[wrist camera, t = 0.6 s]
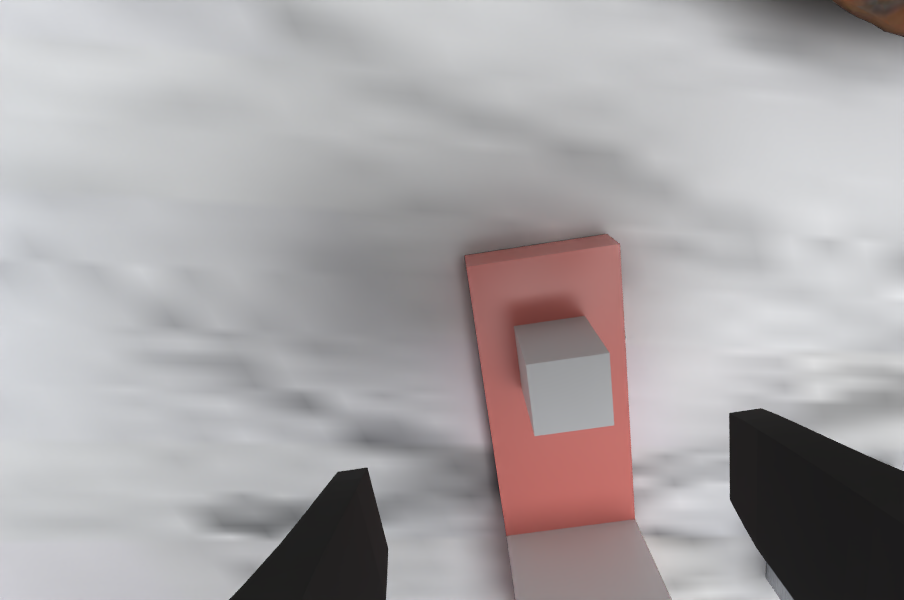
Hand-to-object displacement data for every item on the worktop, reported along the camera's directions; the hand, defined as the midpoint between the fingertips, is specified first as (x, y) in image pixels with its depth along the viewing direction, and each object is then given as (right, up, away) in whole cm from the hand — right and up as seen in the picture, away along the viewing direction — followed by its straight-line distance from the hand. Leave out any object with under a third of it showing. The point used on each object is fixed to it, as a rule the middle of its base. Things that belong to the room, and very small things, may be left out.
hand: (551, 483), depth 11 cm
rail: (+2, -2, +11) cm, 12 cm away
